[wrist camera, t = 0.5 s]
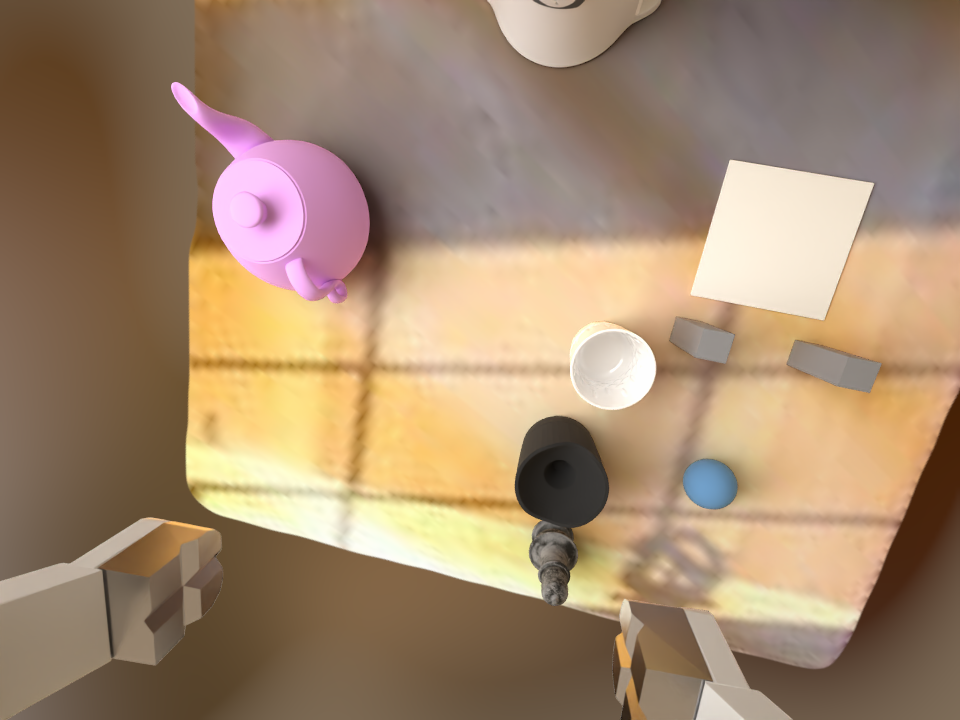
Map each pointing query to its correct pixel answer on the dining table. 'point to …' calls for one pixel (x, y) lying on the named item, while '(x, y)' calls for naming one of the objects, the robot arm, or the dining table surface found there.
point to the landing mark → (780, 238)
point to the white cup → (611, 366)
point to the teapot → (285, 206)
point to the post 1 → (702, 339)
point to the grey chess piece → (553, 559)
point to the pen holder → (561, 474)
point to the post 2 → (834, 366)
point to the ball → (710, 484)
